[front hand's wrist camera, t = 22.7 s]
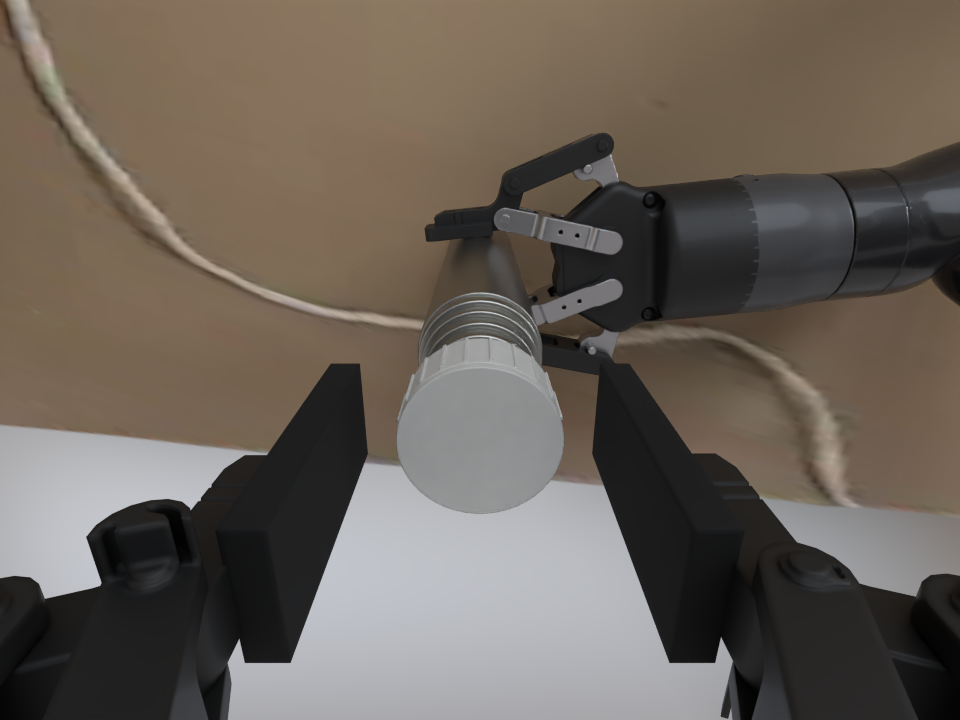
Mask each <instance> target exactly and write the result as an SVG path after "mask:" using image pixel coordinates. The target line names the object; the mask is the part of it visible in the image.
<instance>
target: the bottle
mask: <svg viewBox="0 0 960 720" xmlns="http://www.w3.org/2000/svg"><path fill="white" fill-rule="evenodd" d="M465 338H469V339H479V338H484V339H489V338H492V339H494V340H498V341H503V342H505V343H508V344H511V345H512V344H515V347H517V348H519V349H521V350H523V351H524V352H525V353H527V354H528V355H530V356H533V357H534V359H535V361H536V362H537V363H538V364H539V366H540V367H541V366H542V341H541V336H540V333H539V329H538V326H537V323H536V320H535V317H534V314H533V311H532V308H531V305H530V302H529V299H528V296H527V292H526V289H525V286H524V283H523V280H522V277H521V274H520V271H519V268H518V265H517V262H516V258H515V255H514V252H513V249H512V246H511V243H510V240H509V238H508V236H507V234H506V232H505V231H501V230H498V231H493V236H483V237H473V238H463V239H453V240H451V242H450V245H449V248H448V251H447V254H446V257H445V260H444V263H443V266H442V269H441V272H440V275H439V279H438V282H437V285H436V288H435V291H434V294H433V297H432V300H431V303H430V306H429V309H428V312H427V315H426V319H425V322H424V325H423V328H422V331H421V334H420V338H419V343H418V363H419V367H420V366H421V364H422V363H423V362H424V359H425V358H426V357H427V358H428V357H430V356H431V355H432V354H433V353H435V352H436V351H438V350H440V349H441V348H443V345H446V346H447V345H450V344H452V343H455V342H458V341H462V340H465Z"/></svg>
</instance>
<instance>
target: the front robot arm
mask: <svg viewBox="0 0 960 720" xmlns="http://www.w3.org/2000/svg"><path fill="white" fill-rule="evenodd" d="M367 454H368V451H367V439H366V428H365V417H364V406H363V395H362V384H361V372H360V364H330V366H329V367H328V369H327V370H326V371H325V373H324V374H323V376H322V377H321V379H320V380H319V381H318V383H317V384H316V386H315V387H314V389H313V390H312V391H311V393H310V394H309V396H308V397H307V399H306V400H305V402H304V403H303V404H302V406H301V407H300V409H299V410H298V412H297V413H296V414H295V416H294V417H293V419H292V420H291V422H290V423H289V424H288V426H287V427H286V429H285V430H284V432H283V433H282V434H281V436H280V437H279V439H278V440H277V442H276V443H275V445H274V446H273V447H272V449H271V450H270V452H269V453H268V455H245V456H243V457H242V458H240V459H238V460H237V461H235V462H234V463H232V464H231V465H229V466H228V467H226V468H225V469H224V470H223V471H222V472H221V474H220V475H219V476H218V477H217V479H216V480H215V481H214V482H213V484H212V487H211V488H209V489H208V490H207V491H206V492H205V494H204V495H203V496H202V497H201V501H198V502H197V504H196V505H195V506H194V507H193V509H192V510H190V508H189V507H188V506H187V505H185V504H184V503H183V502H181V501H175V500H170V499H162V500H150V501H146V502H142V503H139V504H135V505H131V506H129V507H127V508H124V509H122V510H120V511H118V512H115V513H113V514H111V515H110V516H108V517H107V518H106V519H104V520H103V521H101V522H100V523H98V524H97V525H96V526H95V527H94V528H93V530H92V531H91V532H90V533H89V534H88V536H87V537H86V538H87V540H88V544H89V546H90V549H91V552H92V555H93V558H94V561H95V564H96V567H97V570H98V573H99V576H100V579H101V582H102V583H101V586H99V587H95V588H92V589H87V590H83V591H78V592H74V593H70V594H65V595H61V596H56V597H52V598H47V599H45V598H44V596H43V593H42V591H41V588H40V586H39V584H38V583H37V582H36V581H34V580H33V579H32V578H30V577H20V576H11V577H6V578H0V720H228V711H229V702H230V692H231V678H230V671H229V667H228V661H229V658H230V656H231V654H232V652H233V650H234V648H235V646H236V644H237V642H238V640H239V639H240V643H241V647H242V652H243V656H244V661H245V663H291V660H292V657H293V654H294V652H295V649H296V646H297V644H298V641H299V638H300V636H301V633H302V630H303V628H304V625H305V622H306V619H307V617H308V614H309V611H310V609H311V606H312V603H313V600H314V598H315V595H316V592H317V590H318V587H319V584H320V581H321V579H322V576H323V573H324V571H325V568H326V565H327V562H328V560H329V557H330V554H331V552H332V549H333V546H334V544H335V541H336V538H337V535H338V533H339V530H340V527H341V524H342V522H343V519H344V517H345V514H346V511H347V508H348V506H349V503H350V500H351V498H352V495H353V492H354V489H355V487H356V484H357V481H358V479H359V476H360V473H361V471H362V468H363V465H364V462H365V460H366V457H367ZM592 454H593V457H594V460H595V462H596V465H597V468H598V471H599V473H600V476H601V479H602V481H603V484H604V487H605V489H606V492H607V495H608V497H609V500H610V503H611V506H612V508H613V511H614V514H615V516H616V519H617V522H618V525H619V527H620V530H621V533H622V535H623V538H624V541H625V544H626V546H627V549H628V552H629V554H630V557H631V560H632V562H633V565H634V568H635V571H636V573H637V576H638V579H639V581H640V584H641V587H642V590H643V592H644V595H645V598H646V600H647V603H648V606H649V609H650V611H651V614H652V617H653V619H654V622H655V625H656V628H657V630H658V633H659V636H660V638H661V641H662V644H663V646H664V649H665V652H666V655H667V657H668V660H669V662H670V663H715V661H716V656H717V652H718V647H719V643H720V639H721V637H722V640H723V642H724V644H725V646H726V648H727V650H728V652H729V654H730V656H731V658H732V660H733V663H732V667H731V671H730V675H729V680H728V684H727V688H726V692H725V696H724V700H723V704H722V711H721V717H724V718H727V719H728V717H729V713H730V709H732V719H733V720H960V576H957V575H951V574H938V575H930V576H929V577H928V578H926V579H925V580H924V581H922V583H921V586H920V588H919V591H918V593H917V596H916V597H915V596H910V595H906V594H901V593H896V592H892V591H888V590H883V589H878V588H874V587H870V586H866V585H862V584H859V582H858V581H857V579H856V578H855V577H854V575H853V574H852V572H851V571H850V570H849V569H848V568H847V567H846V566H845V565H843V564H842V563H841V562H840V561H838V560H837V559H836V558H835V557H833V556H831V555H829V554H827V553H825V552H823V551H821V550H819V549H817V548H814V547H811V546H807V545H804V544H800V543H797V542H796V541H795V540H794V538H793V537H792V536H791V535H790V533H789V532H788V531H787V530H786V528H785V527H784V526H783V525H782V523H781V522H780V521H779V520H778V518H777V517H776V516H775V515H774V513H773V512H772V511H771V510H770V509H769V507H768V506H767V505H766V504H765V502H764V501H763V500H762V499H760V498H759V495H758V494H757V492H756V491H755V490H754V489H753V487H752V486H749V483H748V481H747V480H746V479H745V478H744V476H743V475H742V474H741V473H740V471H739V470H738V469H737V468H736V467H735V466H734V465H732V464H731V463H729V462H727V461H726V460H724V459H723V458H721V457H720V456H718V455H717V454H692V453H691V452H690V450H689V449H688V447H687V446H686V445H685V443H684V442H683V440H682V439H681V437H680V436H679V434H678V433H677V432H676V430H675V429H674V427H673V426H672V424H671V423H670V422H669V420H668V419H667V417H666V416H665V414H664V413H663V412H662V410H661V409H660V407H659V406H658V404H657V403H656V402H655V400H654V399H653V397H652V396H651V394H650V393H649V391H648V390H647V389H646V387H645V386H644V384H643V383H642V381H641V380H640V379H639V377H638V376H637V374H636V373H635V371H634V370H633V369H632V367H631V366H630V364H600V372H599V384H598V395H597V406H596V417H595V428H594V439H593V451H592Z"/></svg>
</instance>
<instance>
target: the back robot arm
mask: <svg viewBox="0 0 960 720" xmlns="http://www.w3.org/2000/svg"><path fill="white" fill-rule="evenodd" d="M613 148H614V141H613V139H612V137H611V136H610V135H609V134H607V133H598V134H591V135H588V136H586V137H584V138H582V139H579V140H577V141H575V142H572V143H570V144H568V145H565V146H563V147H561V148H559V149H556V150H554V151H552V152H549V153H547V154H545V155H542V156H540V157H538V158H536V159H533V160H531V161H529V162H526V163H524V164H522V165H519V166H517V167H515V168H513V169H510V170H508V171H506V172H505V173H504V174H503V176H502V181H501V185H500V189H499V193H498V197H497V199H496V200H495V202H494V203H492V204H491V205H489V206H484V207H474V208H465V209H455V210H445V211H443V212H441V213H439V214H437V215H436V216H435V218H434V220H435V224H429V225H427V226H426V227H425V235H426V241H428V242H432V241H443V240H453V239H463V238H473V237H483V236H493V231H498V230H501V231H506V232H511V233H515V234H520V235H525V236H530V237H534V238H536V239H539V240H544V241H548V242H551V250H552V253H553V256H554V259H555V264H554V269H553V273H552V280H553V283H552V284H550V285H547V286H545V287H542V288H540V289H538V290H536V291H535V292H534V293H533V294H531V295H528V299H529V302H530V305H531V308H532V311H533V314H534V317H535V320H536V323H537V326H538V325H540V324H543V323H553V322H556V321H558V320H561V319H564V318H566V317H569V316H571V315H574V314H576V313H578V314H580V315H581V316H583V317H585V318H586V319H588V320H590V321H592V322H593V323H595V324H597V325H598V326H600V328H599V329H598V330H597V331H596V332H593V333H584V334H582V335H581V336H580V337H579V338H578V340H577V339H572V338H566V337H561V336H556V335H550V334H545V333H540V332H539V333H540V336H541V341H542V365H545V366H551V367H556V368H562V369H567V370H573V371H578V372H583V373H589V374H594V375H599V372H600V364H614V361H613V360H612V354H613V351H614V347H615V344H616V341H617V338H618V335H619V332H622V331H625V330H627V329H629V328H630V327H632V326H634V325H636V324H638V323H641V322H645V321H663V320H673V319H684V318H695V317H705V316H716V315H727V314H738V313H748V312H759V311H770V310H777V309H783V308H788V307H792V306H796V305H800V304H805V303H811V302H817V301H829V300H839V299H850V298H861V297H871V296H879V295H887V294H893V293H898V292H902V291H905V290H908V289H911V288H913V287H915V286H918V285H920V284H922V283H924V282H925V281H927V280H928V279H930V278H931V279H932V281H933V282H934V284H935V285H936V286H937V288H938V289H939V290H940V291H941V292H942V293H943V294H944V295H946V296H947V297H948V298H949V299H950V300H952V301H953V302H955V303H956V304H957V305H959V306H960V142H957V143H954V144H952V145H949V146H946V147H943V148H940V149H937V150H934V151H931V152H928V153H925V154H923V155H920V156H917V157H915V158H913V159H910V160H908V161H905V162H903V163H900V164H898V165H895V166H891V167H887V168H874V169H861V170H852V171H842V172H832V173H823V174H767V175H757V176H754V175H748V174H747V175H739V176H735V177H734V178H727V179H718V180H708V181H699V182H689V183H679V184H669V185H660V186H650V187H635V186H632V185H630V184H628V183H626V182H622V181H619V180H618V176H617V173H616V170H615V166H614V163H613V160H612V156H611V152H612V151H613ZM570 172H572V174H573V175H574V177H575V178H577V179H579V180H583V181H586V180H591V179H593V180H595V181H596V182H597V183H598V185H599V187H598V188H597V189H595V190H594V191H593V192H592V193H591V194H590V195H589V196H587V197H586V198H585V199H584V200H583V201H582V202H581V203H579V204H578V205H577V206H576V207H575V208H574V209H572V210H571V211H570V212H569V213H568V214H567V215H566V216H564V215H560V214H555V213H550V212H545V211H540V210H532V209H527V208H523V207H519V206H520V203H521V199H522V195H523V192H526V191H528V190H530V189H533V188H535V187H537V186H540V185H542V184H544V183H547V182H549V181H552V180H554V179H556V178H559V177H561V176H563V175H566V174H568V173H570ZM555 293H556V294H555ZM563 305H565V306H564V307H562V306H563Z"/></svg>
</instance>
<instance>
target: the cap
mask: <svg viewBox="0 0 960 720" xmlns="http://www.w3.org/2000/svg"><path fill="white" fill-rule="evenodd" d="M561 420H563V416H562V413H561V410H560V407H559V403H558V400H557V397H556V394H555V391H553V389H552V386H551V383H550V379H549V376H548V373H547V372H545V373H544V371H543V369H542V368H541V367H540V366H539V364H538V363H537V362H536V361H535V359H534V357H533V356H530V355H528V354H527V353H525V352H524V351H523V350H521V349H519V348H517V347H515V344H512V345H511V344H508V343H505V342H503V341H498V340H494V339H492V338H489V339H484V338H479V339H469V338H465V340H462V341H458V342H455V343H452V344H450V345H447V346H446V345H443V348H441V349H440V350H438V351H436V352H435V353H433V354H432V355H431V356H430V357H428V358H427V357H426V358H425V359H424V362H423V363H422V364H421V366H420V367H419V369H418V370H417V371H416V373H415V375H414V374H412V376H411V379H410V382H409V385H408V388H407V392H406V394H405V395H404V399H403V402H402V405H401V408H400V412H399V415H398V418H397V422H398V427H397V433H396V446H397V453H398V457H399V461H400V463H401V466H402V468H403V470H404V472H405V473H406V475H407V477H408V478H409V480H410V481H411V482H412V484H413V485H414V486H415V487H416V488H417V489H418V490H419V491H420V492H421V493H423V494H424V495H425V496H426V497H428V498H429V499H431V500H432V501H434V502H436V503H438V504H440V505H442V506H444V507H446V508H449V509H453V510H456V511H460V512H465V513H475V514H484V513H495V512H500V511H504V510H508V509H511V508H514V507H516V506H519V505H520V504H523V503H524V502H526V501H528V500H529V499H531V498H533V497H534V496H535V495H537V494H538V493H539V492H540V491H541V490H542V489H543V488H544V487H545V486H546V485H547V484H548V483H549V481H550V480H551V479H552V477H553V476H554V474H555V472H556V470H557V468H558V466H559V464H560V461H561V458H562V454H563V449H564V432H563V426H562V422H561Z"/></svg>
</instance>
